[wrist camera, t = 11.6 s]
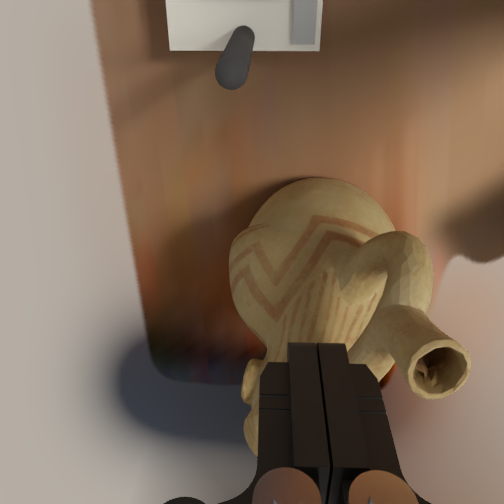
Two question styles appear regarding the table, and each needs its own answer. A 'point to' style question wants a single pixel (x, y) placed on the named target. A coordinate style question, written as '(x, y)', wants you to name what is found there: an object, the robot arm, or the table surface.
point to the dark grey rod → (236, 59)
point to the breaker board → (244, 13)
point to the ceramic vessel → (339, 289)
